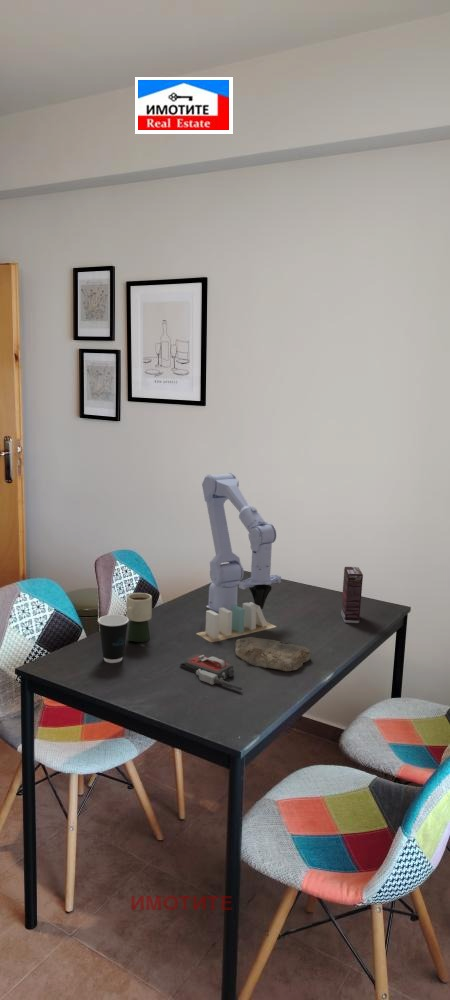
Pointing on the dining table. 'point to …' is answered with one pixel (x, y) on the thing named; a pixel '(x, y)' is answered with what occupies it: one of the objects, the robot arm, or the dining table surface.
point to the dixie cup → (113, 636)
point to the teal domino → (237, 618)
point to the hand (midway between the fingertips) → (259, 608)
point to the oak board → (235, 633)
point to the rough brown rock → (271, 653)
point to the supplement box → (351, 594)
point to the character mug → (139, 616)
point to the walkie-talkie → (210, 669)
